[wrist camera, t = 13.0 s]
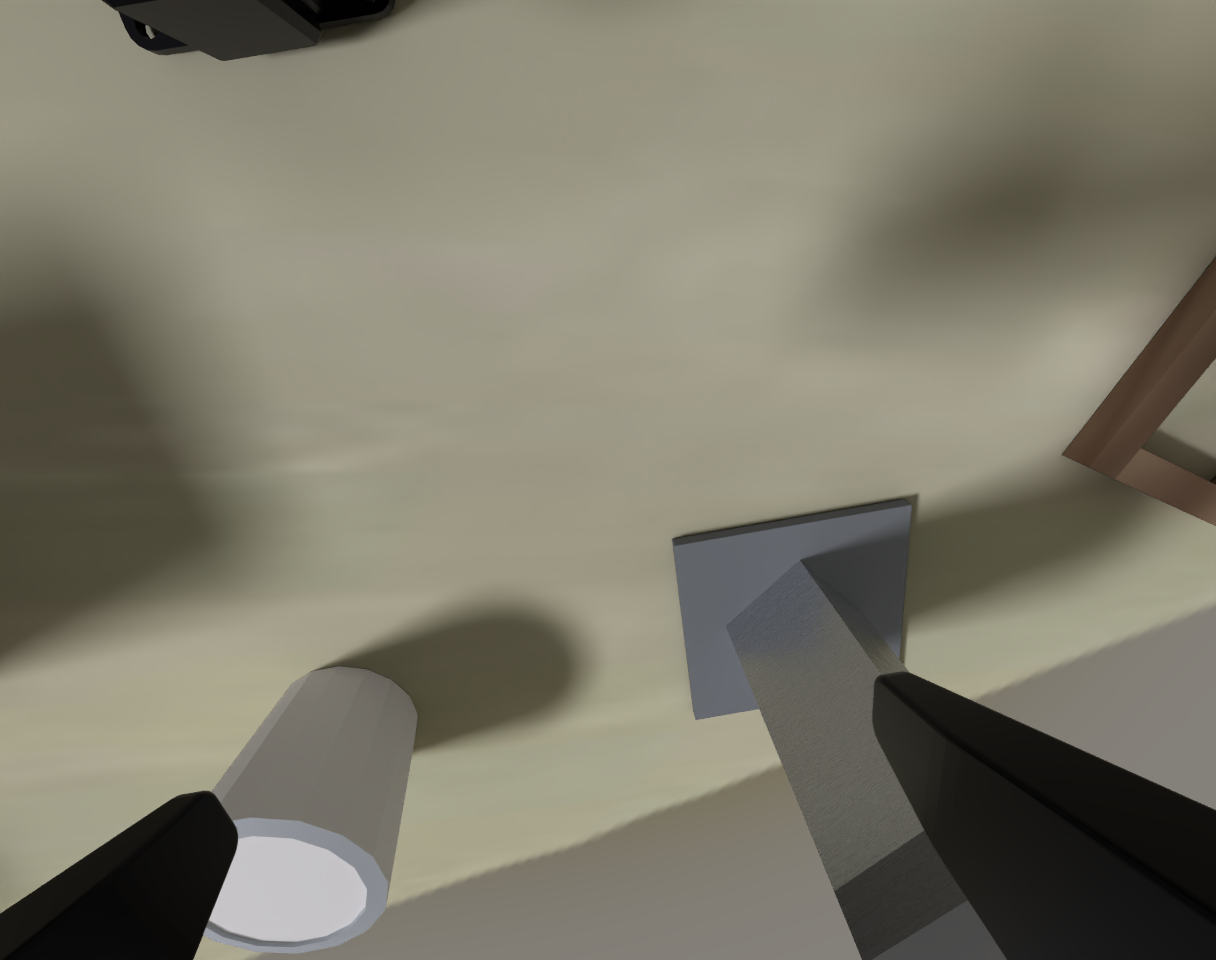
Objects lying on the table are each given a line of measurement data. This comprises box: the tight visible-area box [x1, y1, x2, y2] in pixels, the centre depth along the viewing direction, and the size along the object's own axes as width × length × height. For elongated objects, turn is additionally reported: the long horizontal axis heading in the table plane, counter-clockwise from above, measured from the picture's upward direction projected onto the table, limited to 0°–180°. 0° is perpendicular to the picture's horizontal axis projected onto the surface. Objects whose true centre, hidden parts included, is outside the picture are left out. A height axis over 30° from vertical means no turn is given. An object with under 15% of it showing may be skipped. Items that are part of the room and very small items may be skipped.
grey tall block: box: [726, 560, 1007, 960], centre depth 18 cm, size 4×4×12 cm
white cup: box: [203, 666, 418, 953], centre depth 21 cm, size 7×7×7 cm
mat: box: [672, 499, 912, 720], centre depth 23 cm, size 9×9×1 cm
